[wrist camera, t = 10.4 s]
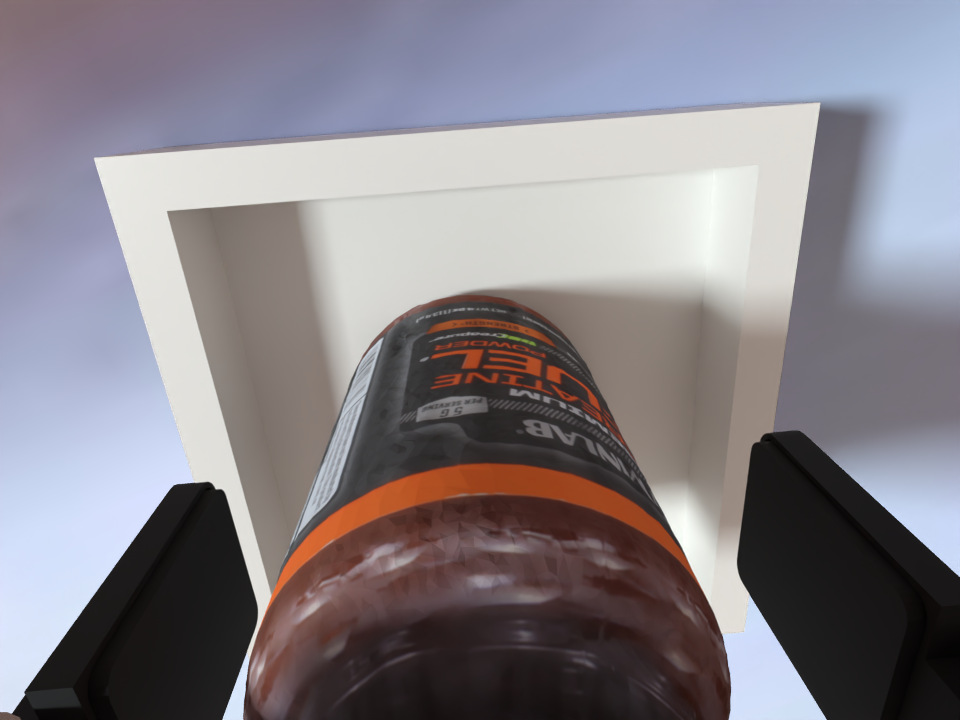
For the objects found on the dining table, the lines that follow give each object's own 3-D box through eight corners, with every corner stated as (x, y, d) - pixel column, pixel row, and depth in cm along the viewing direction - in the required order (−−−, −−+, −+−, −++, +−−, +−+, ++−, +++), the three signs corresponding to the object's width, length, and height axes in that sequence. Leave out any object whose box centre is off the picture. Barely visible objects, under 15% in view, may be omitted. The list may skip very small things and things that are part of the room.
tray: (167, 146, 13) (93, 157, 11) (744, 103, 14) (820, 102, 11) (283, 592, 18) (254, 677, 16) (700, 554, 19) (743, 632, 16)
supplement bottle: (620, 316, 14) (1081, 876, 4) (547, 514, 17) (720, 1209, 6) (373, 258, 13) (129, 774, 3) (331, 475, 16) (105, 1205, 5)
